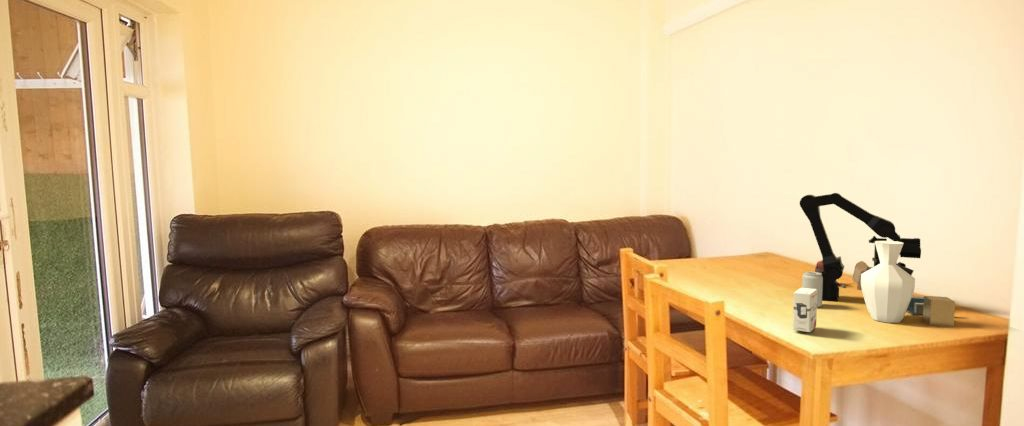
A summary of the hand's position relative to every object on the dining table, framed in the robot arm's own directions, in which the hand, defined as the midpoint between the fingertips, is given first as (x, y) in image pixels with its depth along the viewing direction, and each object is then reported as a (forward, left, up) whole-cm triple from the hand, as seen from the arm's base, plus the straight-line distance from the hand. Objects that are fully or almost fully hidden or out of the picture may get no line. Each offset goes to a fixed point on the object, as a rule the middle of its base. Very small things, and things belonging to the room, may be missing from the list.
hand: (882, 299), depth 194 cm
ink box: (-31, -38, -2) cm, 49 cm away
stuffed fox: (-11, +27, -2) cm, 29 cm away
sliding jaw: (+11, -4, -2) cm, 12 cm away
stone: (+1, +31, -2) cm, 31 cm away
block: (+9, -21, -2) cm, 23 cm away
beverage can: (-24, -8, -2) cm, 25 cm away
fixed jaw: (+11, -11, -2) cm, 16 cm away
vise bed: (+11, -4, -2) cm, 12 cm away
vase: (-4, -20, -2) cm, 20 cm away
